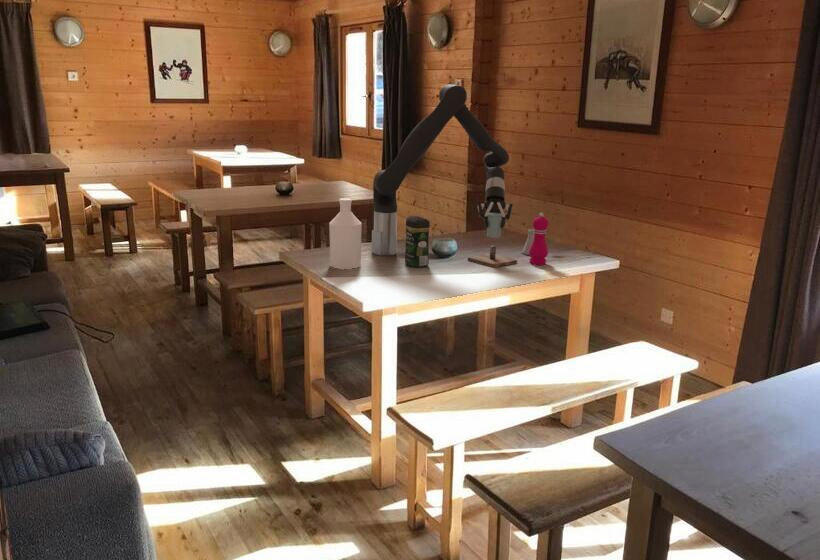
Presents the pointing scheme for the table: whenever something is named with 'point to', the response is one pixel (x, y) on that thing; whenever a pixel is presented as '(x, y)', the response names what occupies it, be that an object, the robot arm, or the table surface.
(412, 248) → the coffee jar
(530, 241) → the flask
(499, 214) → the grey canister
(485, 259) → the post stand
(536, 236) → the pepper mill
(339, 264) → the bottle
